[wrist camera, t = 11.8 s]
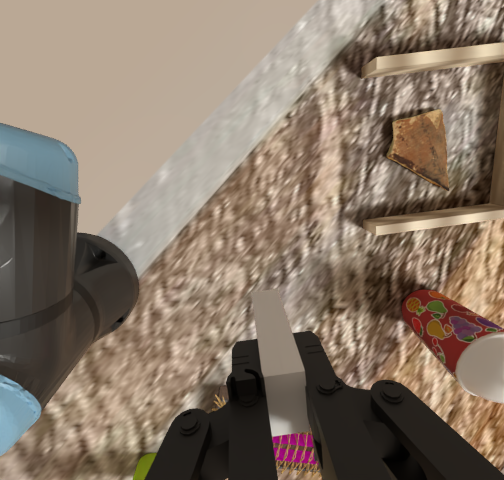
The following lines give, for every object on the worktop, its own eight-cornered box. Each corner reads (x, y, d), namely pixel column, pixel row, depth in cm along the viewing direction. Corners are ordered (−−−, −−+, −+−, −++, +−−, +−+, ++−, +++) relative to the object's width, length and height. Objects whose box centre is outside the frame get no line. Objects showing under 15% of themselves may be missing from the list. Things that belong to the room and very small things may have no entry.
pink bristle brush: (201, 445, 51) (197, 482, 45) (216, 378, 47) (213, 409, 42) (384, 464, 55) (402, 501, 49) (411, 404, 52) (433, 436, 46)
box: (362, 228, 41) (376, 235, 37) (361, 67, 36) (376, 57, 32) (496, 210, 42) (522, 216, 38) (515, 49, 36) (549, 37, 32)
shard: (441, 189, 41) (451, 191, 39) (389, 203, 41) (395, 206, 39) (436, 109, 38) (446, 106, 36) (379, 124, 38) (386, 122, 36)
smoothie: (409, 338, 47) (531, 463, 28) (382, 303, 45) (494, 413, 26) (454, 307, 46) (612, 415, 27) (428, 270, 44) (579, 359, 25)
